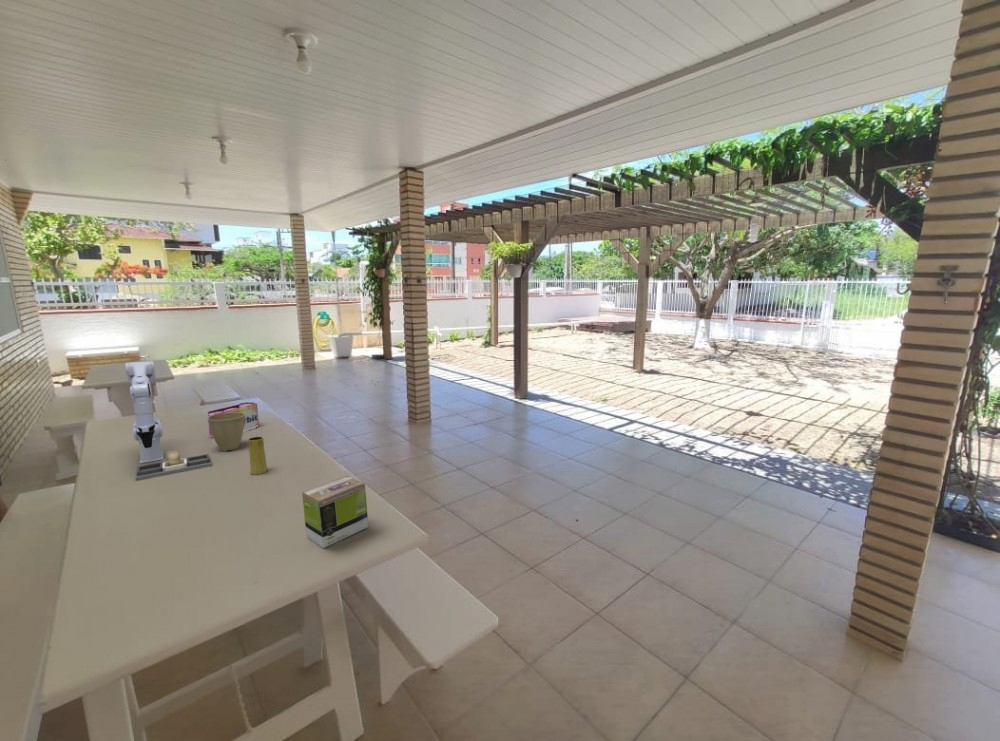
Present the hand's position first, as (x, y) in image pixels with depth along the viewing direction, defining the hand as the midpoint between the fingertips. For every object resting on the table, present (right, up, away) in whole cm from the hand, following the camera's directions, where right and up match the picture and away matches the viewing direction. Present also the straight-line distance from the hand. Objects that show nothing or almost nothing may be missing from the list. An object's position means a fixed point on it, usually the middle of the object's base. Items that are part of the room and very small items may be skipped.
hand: (148, 445), depth 179 cm
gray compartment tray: (+9, -10, +2) cm, 14 cm away
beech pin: (+9, -9, +2) cm, 13 cm away
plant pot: (+17, -6, +26) cm, 32 cm away
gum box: (+4, -2, +52) cm, 52 cm away
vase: (+46, -11, -1) cm, 47 cm away
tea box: (+95, -18, -47) cm, 108 cm away
